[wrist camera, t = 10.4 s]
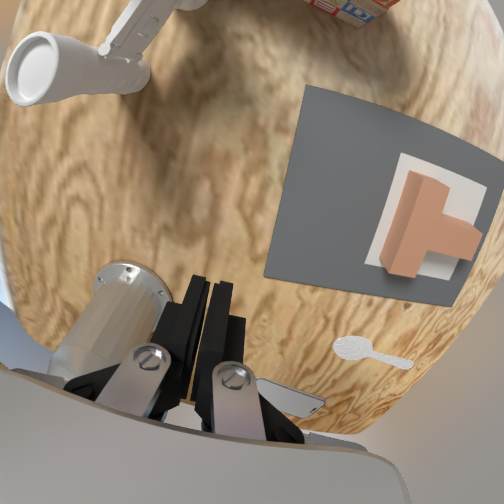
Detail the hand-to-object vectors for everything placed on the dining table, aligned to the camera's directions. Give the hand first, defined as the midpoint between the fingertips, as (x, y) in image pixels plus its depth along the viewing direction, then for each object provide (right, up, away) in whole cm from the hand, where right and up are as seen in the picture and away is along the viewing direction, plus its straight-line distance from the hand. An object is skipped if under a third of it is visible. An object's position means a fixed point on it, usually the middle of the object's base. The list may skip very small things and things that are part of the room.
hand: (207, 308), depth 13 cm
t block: (+25, +6, +23) cm, 34 cm away
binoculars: (-8, +27, +14) cm, 32 cm away
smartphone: (+8, -25, +41) cm, 48 cm away
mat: (+21, +7, +23) cm, 32 cm away
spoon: (+23, -15, +35) cm, 44 cm away
